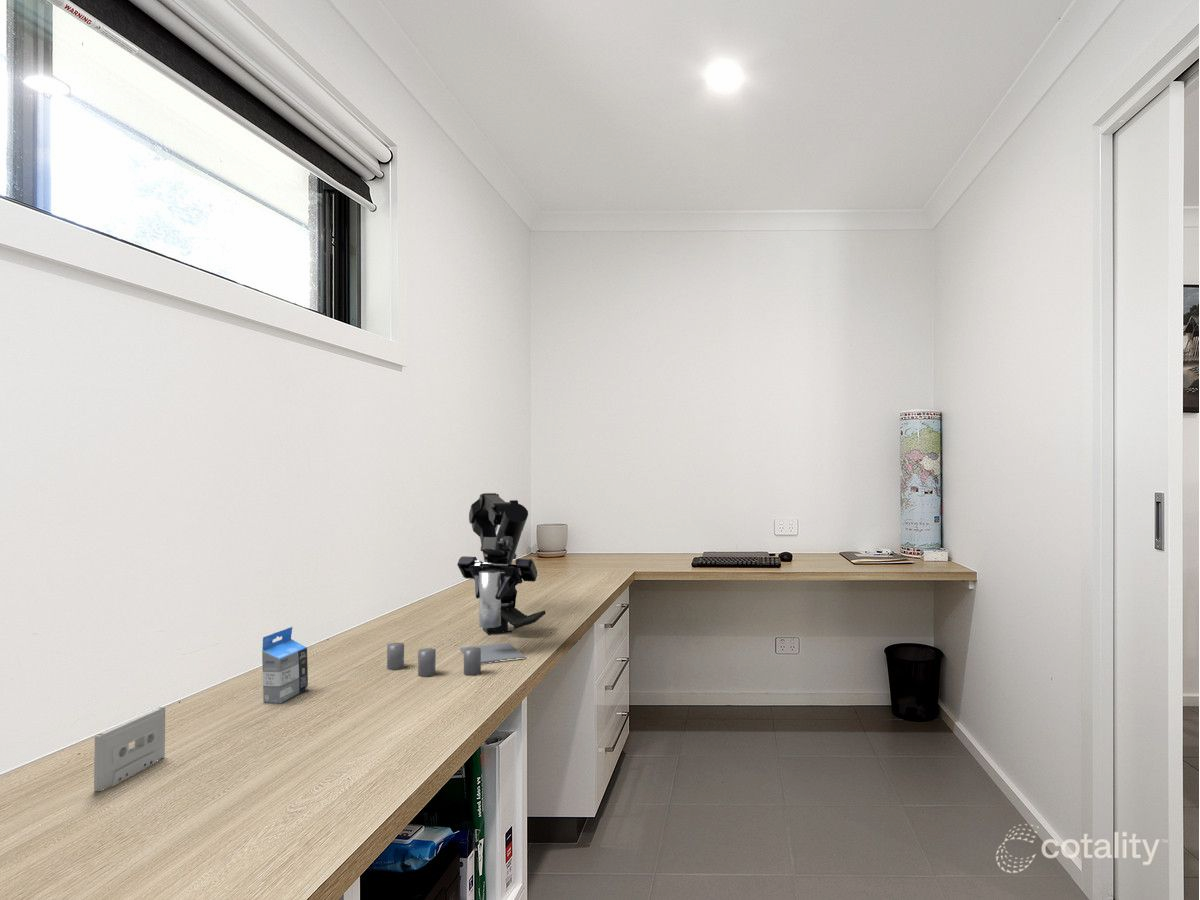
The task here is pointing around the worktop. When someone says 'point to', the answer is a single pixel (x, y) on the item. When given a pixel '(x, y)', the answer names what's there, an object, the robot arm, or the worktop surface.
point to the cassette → (122, 761)
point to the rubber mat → (497, 652)
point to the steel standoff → (489, 599)
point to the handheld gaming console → (520, 617)
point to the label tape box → (283, 667)
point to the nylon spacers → (431, 660)
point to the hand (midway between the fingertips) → (487, 598)
